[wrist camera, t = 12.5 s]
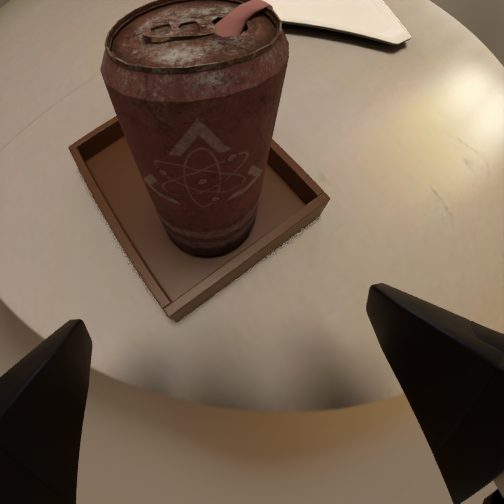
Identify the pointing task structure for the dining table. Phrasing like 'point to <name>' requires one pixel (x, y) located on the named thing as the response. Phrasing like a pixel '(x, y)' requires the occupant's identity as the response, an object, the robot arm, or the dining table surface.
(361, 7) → the plate
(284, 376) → the dining table surface
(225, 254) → the tray
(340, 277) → the dining table surface
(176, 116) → the can
